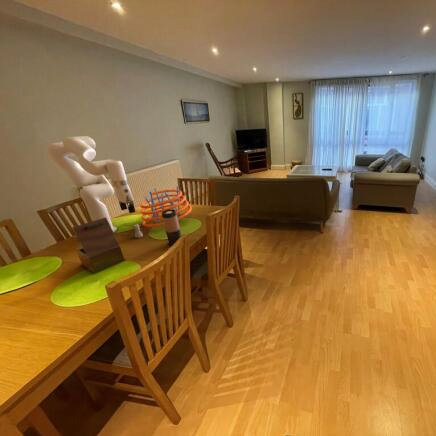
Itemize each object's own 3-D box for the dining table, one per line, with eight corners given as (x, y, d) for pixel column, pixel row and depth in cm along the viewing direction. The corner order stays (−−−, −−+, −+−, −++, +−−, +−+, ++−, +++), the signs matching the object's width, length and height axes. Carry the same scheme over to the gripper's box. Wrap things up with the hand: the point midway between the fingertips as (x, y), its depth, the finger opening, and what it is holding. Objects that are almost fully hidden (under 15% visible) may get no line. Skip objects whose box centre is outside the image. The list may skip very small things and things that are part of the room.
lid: (72, 227, 110) (75, 225, 107) (105, 217, 121) (109, 215, 118) (88, 257, 113) (91, 256, 110) (119, 245, 124) (123, 244, 121)
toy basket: (161, 235, 156) (147, 201, 146) (134, 227, 175) (120, 197, 165) (203, 214, 182) (194, 184, 172) (176, 209, 200) (166, 181, 190)
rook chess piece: (137, 235, 155) (134, 223, 152) (144, 234, 155) (141, 223, 152) (133, 238, 151) (130, 226, 148) (141, 237, 151) (137, 226, 148)
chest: (82, 264, 124) (76, 250, 120) (111, 253, 134) (106, 239, 131) (94, 273, 117) (88, 258, 113) (124, 260, 127) (119, 245, 124)
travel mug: (185, 240, 147) (178, 210, 139) (176, 246, 140) (168, 214, 132) (175, 238, 149) (168, 208, 141) (165, 244, 143) (158, 213, 135)
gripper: (134, 183, 135) (142, 211, 141) (119, 180, 143) (128, 206, 150) (120, 186, 129) (129, 215, 135) (105, 182, 138) (114, 210, 144)
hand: (128, 211), depth 143 cm, fingers open, 9 cm apart
